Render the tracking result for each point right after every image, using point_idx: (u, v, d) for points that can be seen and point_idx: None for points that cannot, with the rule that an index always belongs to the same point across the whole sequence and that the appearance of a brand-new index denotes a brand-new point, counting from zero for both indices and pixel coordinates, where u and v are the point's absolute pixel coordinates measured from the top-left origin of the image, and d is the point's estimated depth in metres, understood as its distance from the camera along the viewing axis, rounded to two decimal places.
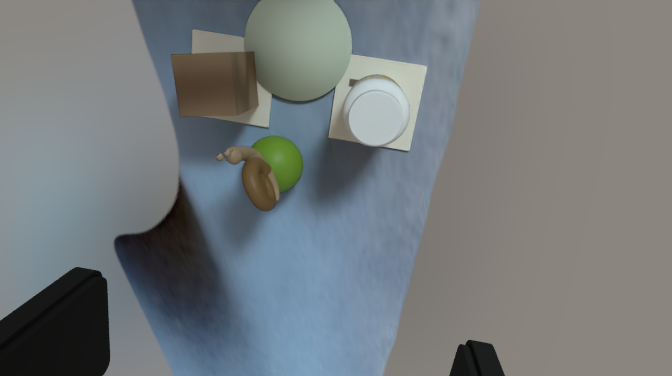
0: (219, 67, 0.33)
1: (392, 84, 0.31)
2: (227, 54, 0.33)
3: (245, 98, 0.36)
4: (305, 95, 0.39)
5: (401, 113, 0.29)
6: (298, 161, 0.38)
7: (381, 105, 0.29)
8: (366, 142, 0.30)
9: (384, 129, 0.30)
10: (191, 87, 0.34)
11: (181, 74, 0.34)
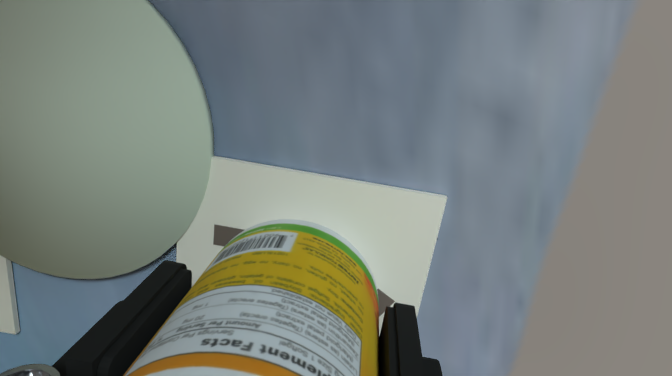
0: None
1: None
2: None
3: None
4: (94, 264, 0.14)
5: None
6: None
7: None
8: None
9: None
10: None
11: None
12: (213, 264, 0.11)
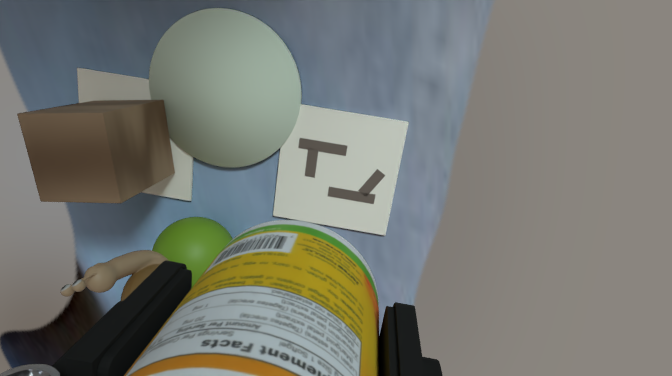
0: (88, 133, 0.22)
1: None
2: (99, 115, 0.21)
3: (143, 171, 0.25)
4: (238, 159, 0.28)
5: None
6: None
7: None
8: None
9: None
10: (52, 160, 0.23)
11: (35, 142, 0.22)
12: (213, 265, 0.11)
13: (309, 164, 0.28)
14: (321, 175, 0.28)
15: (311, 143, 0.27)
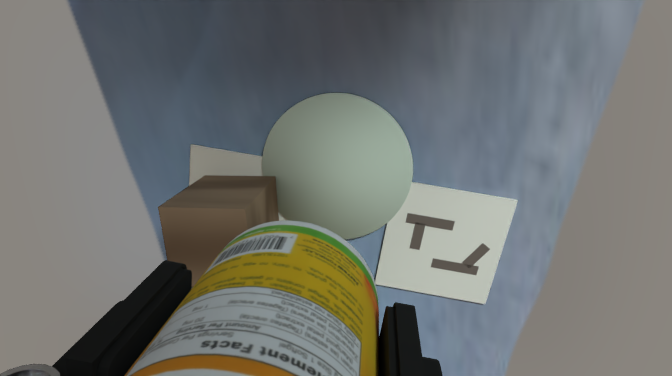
0: (228, 227, 0.23)
1: None
2: (241, 211, 0.22)
3: None
4: (345, 232, 0.29)
5: None
6: None
7: None
8: None
9: None
10: (188, 250, 0.23)
11: (173, 233, 0.23)
12: (213, 265, 0.11)
13: (414, 238, 0.28)
14: (426, 248, 0.29)
15: (419, 218, 0.28)
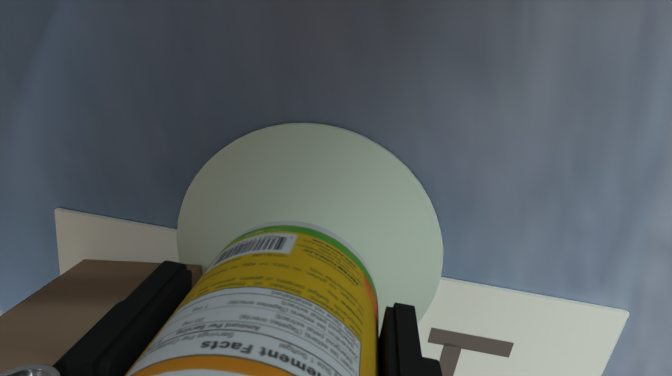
0: None
1: None
2: None
3: None
4: None
5: None
6: None
7: None
8: None
9: None
10: None
11: None
12: (213, 266, 0.11)
13: (442, 366, 0.17)
14: None
15: (451, 336, 0.16)
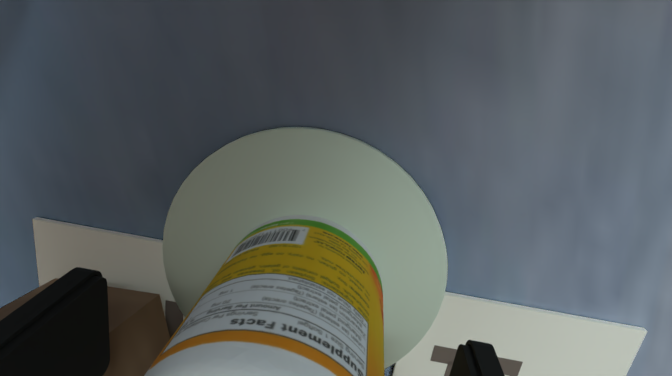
0: None
1: None
2: None
3: None
4: None
5: None
6: None
7: None
8: None
9: None
10: None
11: None
12: (233, 256, 0.12)
13: None
14: None
15: None
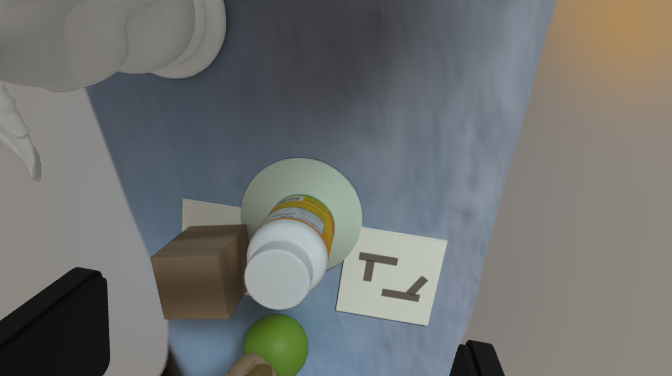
0: (205, 270, 0.29)
1: (302, 229, 0.26)
2: (214, 257, 0.28)
3: (238, 287, 0.32)
4: None
5: (307, 274, 0.24)
6: (303, 349, 0.33)
7: (282, 265, 0.24)
8: (268, 306, 0.25)
9: (288, 292, 0.25)
10: (175, 290, 0.30)
11: (163, 277, 0.29)
12: (275, 207, 0.31)
13: (366, 272, 0.35)
14: (376, 280, 0.35)
15: (369, 256, 0.34)
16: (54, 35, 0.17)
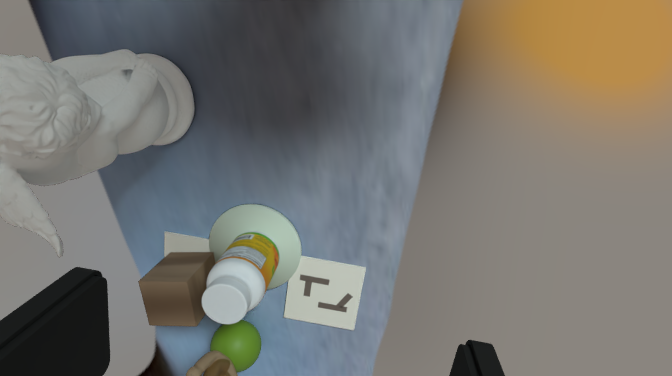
0: (178, 291, 0.39)
1: (245, 266, 0.36)
2: (184, 282, 0.39)
3: None
4: None
5: (244, 301, 0.34)
6: (255, 347, 0.44)
7: (227, 294, 0.34)
8: (219, 321, 0.35)
9: (232, 312, 0.35)
10: (157, 304, 0.40)
11: (148, 295, 0.40)
12: (232, 243, 0.41)
13: (306, 289, 0.45)
14: (313, 295, 0.45)
15: (307, 277, 0.45)
16: (69, 161, 0.27)
